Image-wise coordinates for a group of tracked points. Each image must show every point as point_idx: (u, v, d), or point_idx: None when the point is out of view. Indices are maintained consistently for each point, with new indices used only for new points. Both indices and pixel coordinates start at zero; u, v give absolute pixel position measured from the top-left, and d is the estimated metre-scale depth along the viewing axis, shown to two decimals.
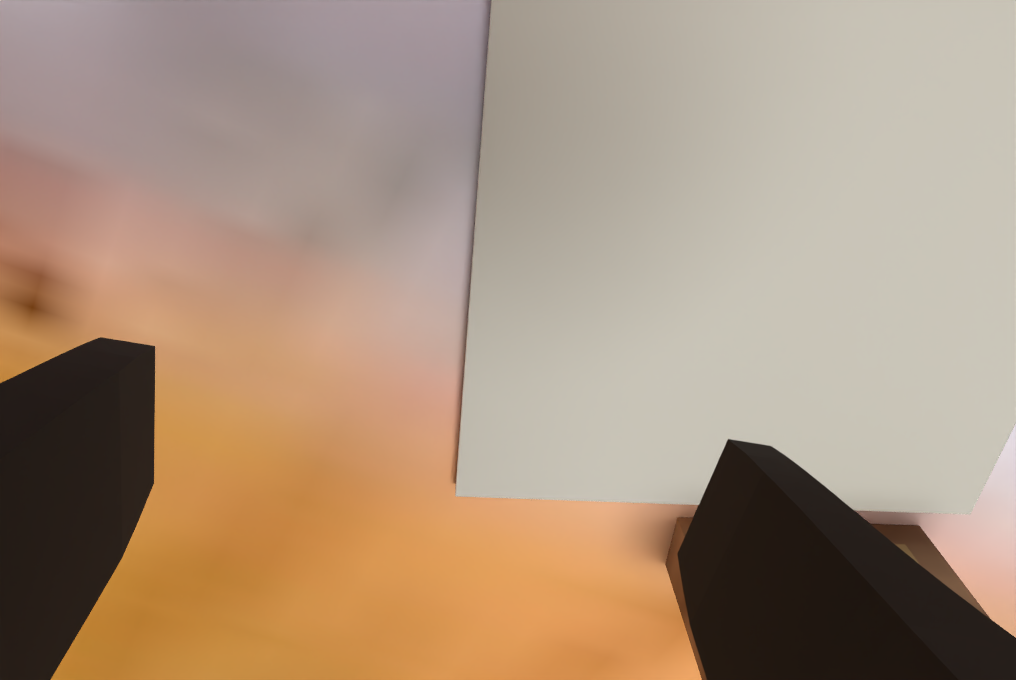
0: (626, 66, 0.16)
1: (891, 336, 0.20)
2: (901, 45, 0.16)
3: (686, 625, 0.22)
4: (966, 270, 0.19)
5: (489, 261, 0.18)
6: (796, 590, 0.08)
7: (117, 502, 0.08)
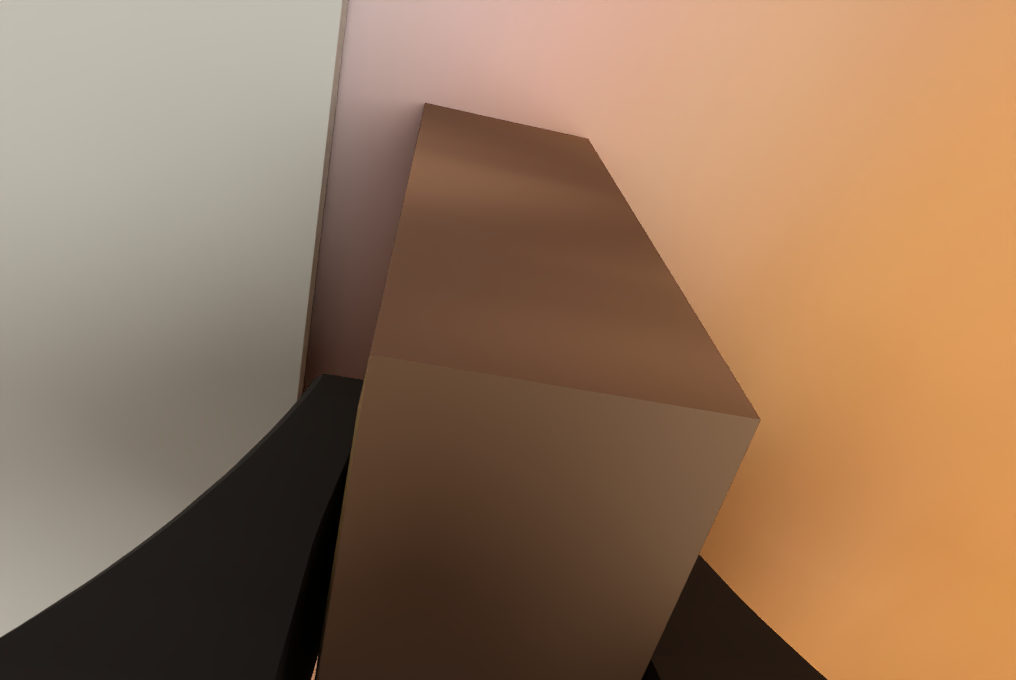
0: None
1: None
2: None
3: None
4: None
5: None
6: None
7: None
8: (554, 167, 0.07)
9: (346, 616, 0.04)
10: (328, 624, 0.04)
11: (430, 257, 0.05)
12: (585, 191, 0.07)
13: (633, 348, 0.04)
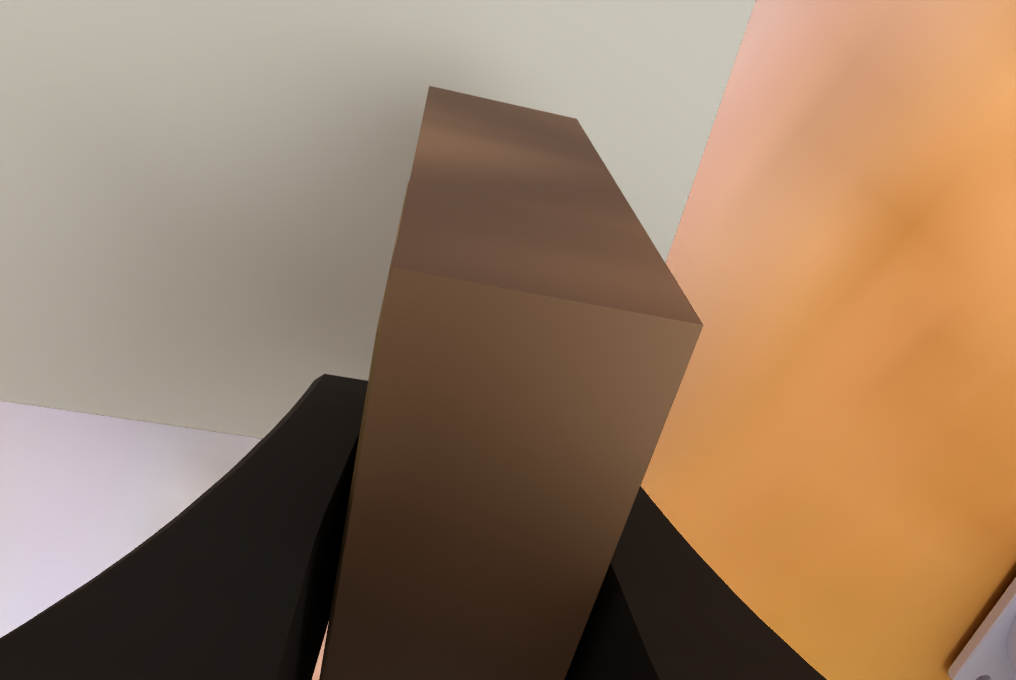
0: (103, 305, 0.17)
1: None
2: (41, 11, 0.14)
3: None
4: None
5: None
6: None
7: None
8: (544, 140, 0.08)
9: (369, 495, 0.05)
10: (354, 503, 0.05)
11: (436, 204, 0.06)
12: (572, 159, 0.08)
13: (603, 273, 0.05)
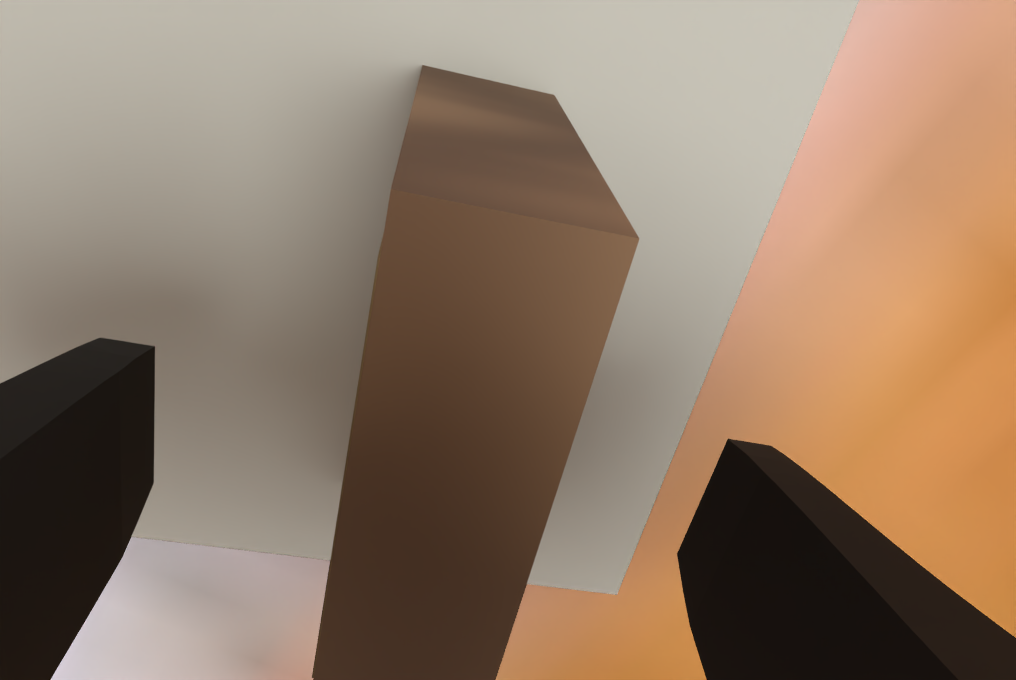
0: None
1: None
2: None
3: None
4: None
5: (272, 538, 0.15)
6: (796, 590, 0.08)
7: (117, 502, 0.08)
8: (523, 110, 0.10)
9: (372, 384, 0.07)
10: (359, 391, 0.07)
11: (427, 149, 0.07)
12: (545, 124, 0.09)
13: (562, 202, 0.06)
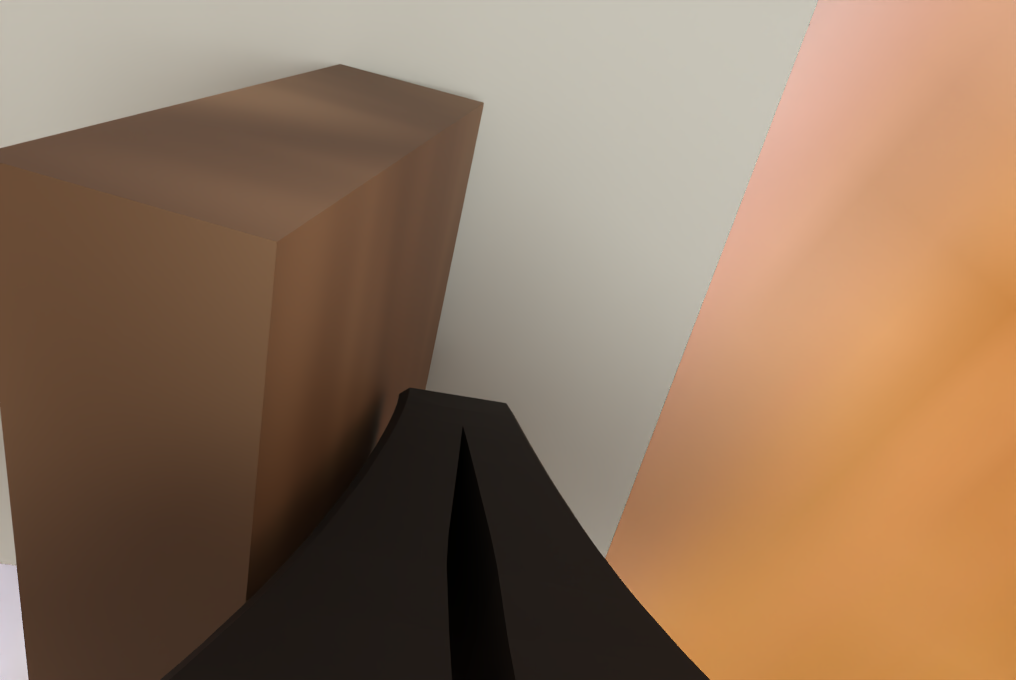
0: None
1: None
2: None
3: None
4: None
5: None
6: (462, 546, 0.07)
7: None
8: (398, 109, 0.08)
9: (11, 395, 0.05)
10: (2, 402, 0.05)
11: (141, 128, 0.06)
12: (400, 124, 0.08)
13: (235, 193, 0.05)
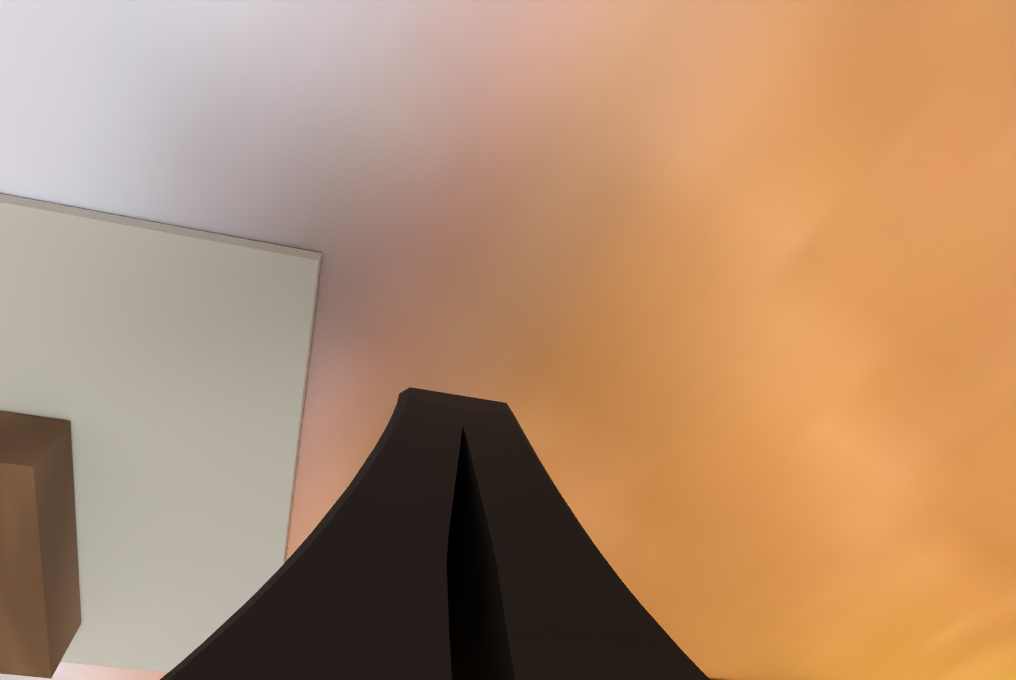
0: None
1: (70, 379, 0.20)
2: None
3: None
4: None
5: None
6: (463, 547, 0.07)
7: None
8: None
9: None
10: None
11: None
12: None
13: None
